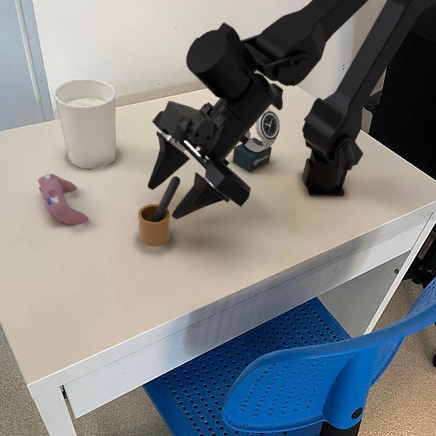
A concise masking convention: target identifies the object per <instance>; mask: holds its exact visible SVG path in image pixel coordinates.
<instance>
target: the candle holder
mask: <svg viewBox="0 0 436 436" xmlns="http://www.w3.org/2000/svg"><path fill="white" fill-rule="evenodd" d="M116 95H117V94H116V90H115V88H114V87H113V85H111V84H110V83H108V82H106V81H103V80H100V79H94V78H75V79H71V80H67V81H64V82H62V83H60V84H58V85H57V86H56V87H55V89H54V90H53V98H54V101H55V105H56V109H57V113H58V118H59V121H60V126H61V130H62V135H63V139H64V143H65V147H66V152H67V155H68V159H69V161H70V162H71V163H72V164H73V165H75V166H77V167H78V168H81V169H87V170H94V169H95V170H96V169H101V168H104V167H107V166H109V165H110V164H112V163H113V162H114V161H115V159H116V156H117V126H116V125H117V121H116V118H117V117H116Z"/></svg>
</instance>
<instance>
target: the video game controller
mask: <svg viewBox="0 0 436 436" xmlns="http://www.w3.org/2000/svg"><path fill="white" fill-rule="evenodd" d="M37 182H38V184H39V187H38V191H39V192H40V193H41V194H42V196H43V197H44V199H45V201H44V206H45V208H46V211H47V212H48V213H49V214H50V216H51V218H53V219H54V220H55V221H56V222H61V223H63V224H66V225H70V226H76V225H81V224H85V223H86V222H89V220H90V218H89V217H88V216H87V214H85V213H83V212H81V211H78V210H76V209H74V208H73V207H70V206H69V205H68V204H67V201H66V199H65V196H64V194H65V193H69V192H73V191H76V190H77V189H78V187H77V185H75V184H74V182H72V181H69V180H66V179H64V178H61V177H60V176H57V174H54V173H48V174H44V175H43V176H41V177H39V178H38V179H37Z"/></svg>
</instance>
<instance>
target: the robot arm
mask: <svg viewBox="0 0 436 436" xmlns="http://www.w3.org/2000/svg"><path fill="white" fill-rule="evenodd" d="M367 2H369V0H310V1H309V3H308V4H306V5H304V7H302V8H301V9H299V10H295V11H292V12H290V13H287V14H284V15H282V16H280V17H279V18H278V19H276V20H275V21H274V22H272V23H271V24H270V25H268V26H267V27H266V28H264V29H263V30H262V31H261V32H260V33H259V34H256V35H253V36H250V37H247V38H244V39H241V37H240V35H239V34H238V32H237V30H236V29H235V28H234V27H233V26H231V25H229V24H228V23H227V22H222V23H221V25H220V26H219V27H218V28H217V29H211V30H209V31H206V32H205V33H203V34H201V36H199V37H196V38H194V40H193V42H191V44H190V46H189V48H188V50H187V53H186V56H185V63H186V64H185V65H186V67H187V69H188V70H189V71H190V73H192V74H193V76H194V77H196V78H197V79H198V80H199V82H200V83H202V85H204V86H205V87H206V88H207V89H208V90H209V91H210V92H211V93H212V94H213V95H214V97H216V98H218V100H217V101H216V102H215V103H214V105H213V104H211V102H209V101H208V102H207V103H204V104H203V105H202V106H201V108H200V109H197V108H194V107H192V106H189V105H186V104H183V103H179V102H175V101H172V100H168V101H167V103H166V106H165V108H164V110H160V111H159V112H158V113H157V114H156V116H155V117H154V118H153V119H152V120H151V123H152V124H154V126H155V127H156V128H157V129H158V130H157V131H156V134H155V135H156V136H157V139H158V144H159V151H158V154H157V157H156V161H155V163H154V166H153V169H152V172H151V174H150V178H149V180H148V183H147V186H146V187H147V188H148V189H149V190H151V191H154V190H155V189H157V188H158V187H160V186H161V185H162V184H163V183H165V182H166V181H167V180H168V179H169V178H170V177H171V176H173V175H174V174H175V173H176V172H178V170H180V168H182V167H183V166H184V165H185V164H187V163H188V161H190V160H191V157H192V158H194V160H196V162H198V164H200V166H201V167H203V168H204V170H205V175H204V176H202V175H201V174H200V173H199V172H197V171H195V172H194V180H193V185H192V187H191V188H190V189H189V190H188V192H187V193H186V194H185V196H184V197H183V198H182V199H181V201H180V202H179V203H178V204H177V206H175V209H174V210H173V212H172V213H171V217H172V218H173V219H174V220H179V219H181V218H184V217H186V216H188V215H190V214H192V213H194V212H196V211H197V212H198V210H201V209H203V208H205V207H209V206H211V205H214V204H217V203H220V202H223V201H224V202H226V203H229V202H230V201H232V202H233V203H234V204H236V205H237V206H238V207H240V208H242V206H243V205H244V204H245V203H246V202H247V201H248V199H249V198H250V196H251V190H252V188H251V187H250V186H249V185H248V183H246V182H245V181H244V179H242V178H241V177H240V176H239V175H238V174H237V173H236V172H235V171H233V169H231V168H230V167H228V166H229V164H230V162H229V161H228V159H227V157H228V156H229V155H230V154H231V152H232V151H234V148H235V147H236V146H238V145H239V144H243V145H245V144H246V143H247V142H248V141H249V139H248V138H247V137H246V136H245V135H246V133H247V132H248V131H249V130H250V131H251V129H252V127H254V125H256V122H257V120H258V119H259V118H260V117H261V116H262V114H263V113H264V112H265V111H266V110H267V108H268V107H269V108H270V107H271V106H272V107H273V108H275V109H276V110H277V111H282V110H283V108H284V107H283V106H284V99H283V93H284V89H283V88H282V87H281V86H280V85H278V84H276V83H275V82H277V83H279V84H281V85H283V86H285V87H291V86H292V87H296V86H298V85H299V84H300V83H302V82H303V81H305V79H306V78H307V77H308V75H309V74H310V73H311V72H312V71H313V70H314V68H315V67H316V66H317V65H318V64H319V62H320V61H321V60H322V57H323V55H324V52H325V48H326V45H327V43H328V41H329V40H330V39H331V38H332V37H333V35H335V33H337V32H338V30H339V29H341V28H342V27H343V26H344V25H345V24H346V23H347V22H348V21H349V20H350V19H351V18H352V17H353V16H354V15H355V14H356V13H357V12H358V11H360V9H361V8H362V7H364V6H365V4H366V3H367ZM435 3H436V0H386V1H385V3H384V5H383V6H382V8H381V9H380V12H378V13H379V14H378V15H377V17H376V19H375V20H374V22H373V24H372V26H371V27H370V29H369V31H368V33H367V34H366V36H365V38H364V40H363V42H362V44H361V45H360V47H359V49H358V51H357V52H356V54H355V56H354V58H353V59H352V61H351V63H350V65H349V67H348V68H347V70H346V72H345V74H344V75H343V77H342V79H341V80H340V83H339V84H338V85H337V88H336V89H335V90H334V92H333V93H331V94H330V95H328V96H326V97H325V98H324V99H322V98H320V97H317V98H316V99H315V100H314V101H313V104H312V105H311V108H310V110H309V112H307V115H306V116H305V117H304V118H303V121H304V123H303V126H302V128H301V129H302V130H301V132H302V136H303V139H304V144H305V147H306V148H308V149H310V150H311V151H310V154H309V157H307V158H306V159H305V162H304V163H305V164H304V168H303V172H302V173H301V179H302V183H303V185H304V186H305V189H306V191H307V193H308V195H309V196H315V197H316V196H317V197H322V196H324V197H326V196H327V197H343V196H345V193H346V191H345V190H344V187H343V186H344V185H345V181H346V178H347V174H348V172H349V171H352V170H353V167H354V166H357V165H358V164H359V162H360V161H361V160H362V158H363V155H364V152H363V150H362V149H361V148H360V146H359V145H358V143H357V142H356V140H357V139H358V136H359V134H360V133H361V130H362V123H363V108H364V106H365V105H366V103H367V101H368V100H369V98H370V96H371V95H372V93H373V92H374V90H375V88H376V86H377V85H378V83H379V82H380V80H381V79H382V77H383V75H384V73H385V72H386V70H387V68H388V67H389V65H390V63H391V62H392V60H393V58H394V56H395V55H396V53H397V52H398V50H399V48H400V47H401V45H402V43H403V41H404V40H405V38H406V37H407V35H408V34H409V32H410V30H411V29H412V27H413V25H414V23H415V22H416V20H417V19H418V17H419V16H420V14H421V13H422V12H423V11H425V10H427V9H428V8H429V7H431V6H432V5H434V4H435ZM257 71H258V72H257ZM270 81H271V82H272V83H270ZM159 131H160V132H159ZM197 148H199V150H197ZM185 151H187V152H188V153H189V154H190V155H191V157H190V156H188V154H187V153H186V152H185Z"/></svg>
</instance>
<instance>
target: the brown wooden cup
mask: <svg viewBox="0 0 436 436" xmlns="http://www.w3.org/2000/svg"><path fill="white" fill-rule="evenodd" d="M158 206H159V203H151V204H147V205H143V206H142V207H141V208H140V209H139V210H138V212H137V219H138V237H139V240H140V242H141V243H142V244H143V245H145V246H148V247H153V248H154V247H161V246H164V245H166V244H167V243H168V242H169V240H170V237H171V220H170V219H171V213H170V210H169V209H168V208H167V210H166V212H165V214H164V216H163V218H162V220H161V221H159V222H151V220H152V218H153V216H154V214H155V212H156V210H157V208H158Z"/></svg>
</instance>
